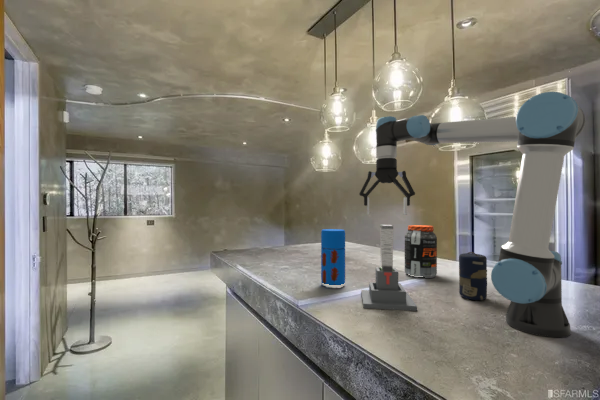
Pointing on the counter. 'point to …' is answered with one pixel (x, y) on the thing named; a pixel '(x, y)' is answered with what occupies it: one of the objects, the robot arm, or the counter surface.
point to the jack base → (387, 292)
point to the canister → (473, 276)
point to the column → (386, 246)
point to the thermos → (333, 256)
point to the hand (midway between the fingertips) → (386, 214)
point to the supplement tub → (421, 251)
